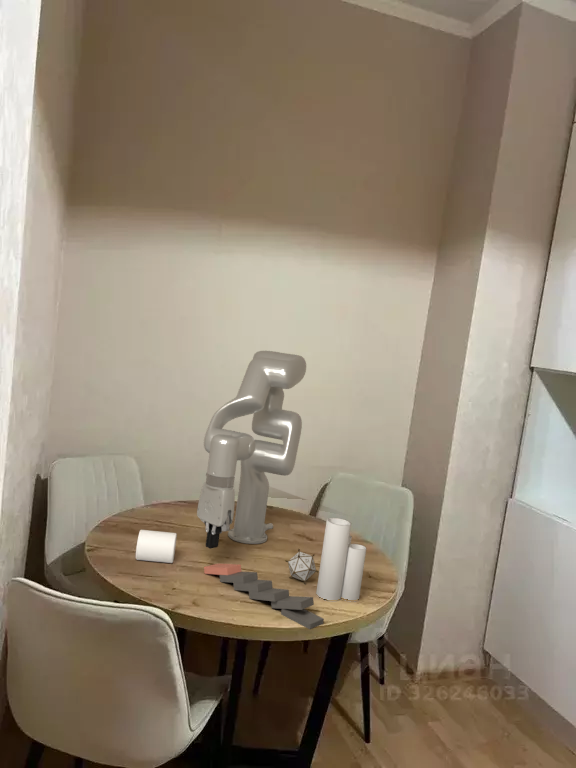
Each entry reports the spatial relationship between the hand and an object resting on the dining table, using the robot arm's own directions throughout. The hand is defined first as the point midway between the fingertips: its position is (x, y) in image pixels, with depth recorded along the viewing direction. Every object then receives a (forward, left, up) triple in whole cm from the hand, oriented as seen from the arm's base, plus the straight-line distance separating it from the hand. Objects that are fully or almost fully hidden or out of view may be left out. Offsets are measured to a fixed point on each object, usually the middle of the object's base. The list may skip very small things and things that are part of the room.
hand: (211, 546), depth 174 cm
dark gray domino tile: (0, +13, -6) cm, 14 cm away
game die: (-18, +18, -7) cm, 26 cm away
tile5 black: (0, +25, -6) cm, 26 cm away
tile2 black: (0, +7, -6) cm, 9 cm away
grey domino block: (0, +29, -6) cm, 30 cm away
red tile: (0, +1, -6) cm, 6 cm away
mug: (+7, -14, -7) cm, 17 cm away
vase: (-19, +30, -7) cm, 36 cm away
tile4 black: (0, +19, -6) cm, 19 cm away
